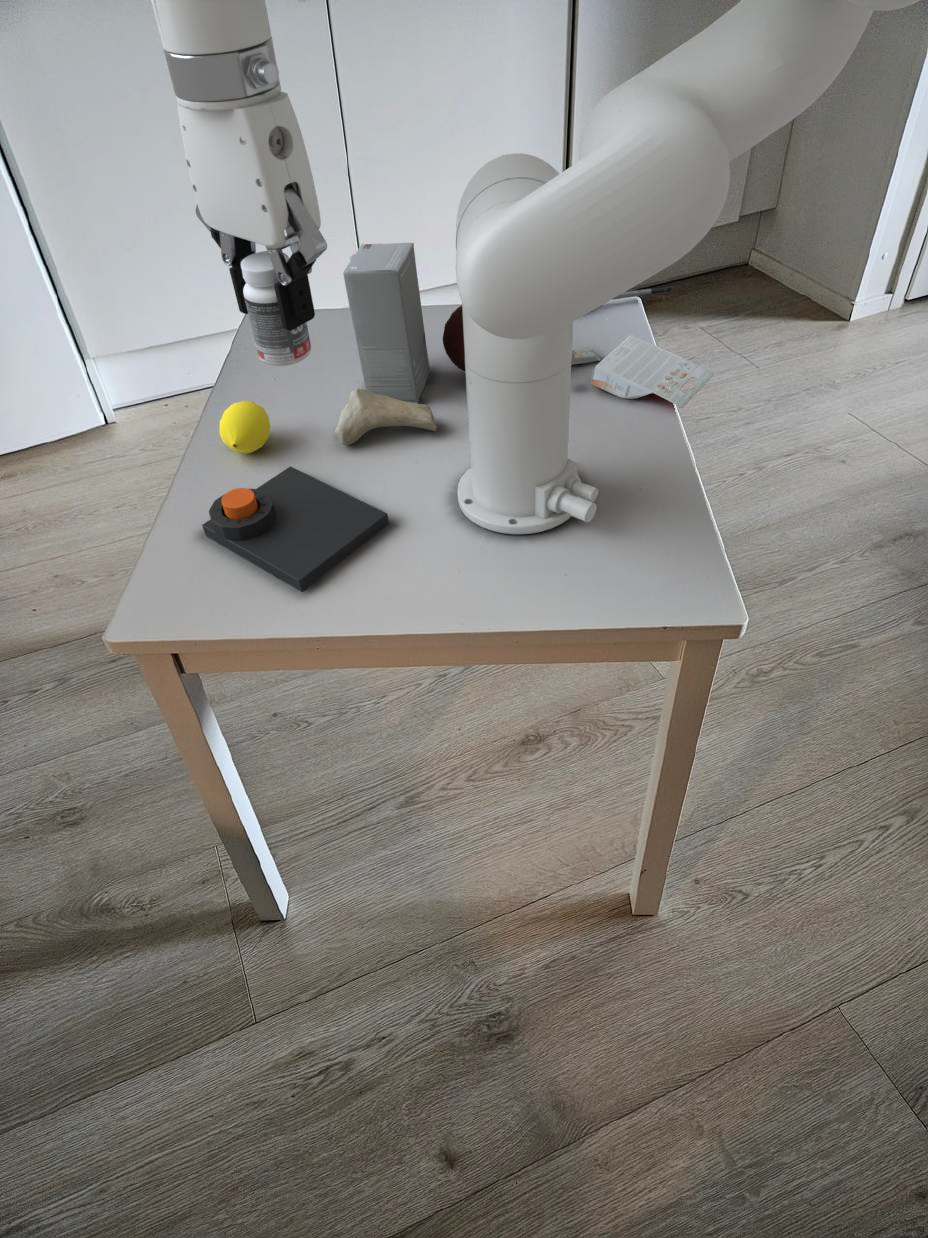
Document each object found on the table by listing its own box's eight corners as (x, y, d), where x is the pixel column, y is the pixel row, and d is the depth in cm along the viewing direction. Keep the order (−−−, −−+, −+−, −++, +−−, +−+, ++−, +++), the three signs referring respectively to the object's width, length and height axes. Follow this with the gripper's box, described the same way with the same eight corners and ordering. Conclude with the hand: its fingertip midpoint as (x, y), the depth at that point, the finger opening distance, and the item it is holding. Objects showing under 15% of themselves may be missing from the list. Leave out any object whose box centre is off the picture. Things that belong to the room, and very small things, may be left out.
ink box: (625, 349, 107) (707, 391, 104) (588, 383, 102) (674, 428, 99) (631, 329, 105) (716, 371, 102) (594, 362, 100) (682, 408, 97)
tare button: (264, 507, 85) (261, 495, 84) (239, 524, 83) (236, 512, 82) (243, 496, 87) (239, 483, 86) (218, 512, 85) (214, 500, 84)
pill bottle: (307, 366, 76) (288, 271, 70) (254, 368, 76) (230, 274, 70) (315, 339, 79) (298, 247, 73) (264, 341, 79) (242, 249, 73)
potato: (441, 360, 108) (435, 288, 102) (536, 349, 109) (536, 276, 103) (449, 396, 102) (444, 322, 96) (549, 384, 103) (551, 310, 96)
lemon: (238, 429, 100) (226, 387, 96) (283, 431, 99) (273, 389, 96) (216, 465, 95) (203, 422, 92) (263, 467, 95) (251, 425, 91)
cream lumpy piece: (338, 452, 96) (331, 414, 92) (333, 423, 100) (326, 385, 97) (438, 436, 97) (435, 398, 93) (429, 408, 101) (426, 370, 98)
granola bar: (596, 346, 107) (604, 359, 105) (594, 354, 108) (601, 367, 106) (543, 345, 106) (550, 359, 104) (541, 354, 106) (548, 368, 105)
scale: (389, 524, 86) (385, 500, 84) (301, 592, 80) (295, 568, 78) (292, 476, 93) (287, 453, 91) (204, 535, 87) (196, 512, 85)
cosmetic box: (418, 405, 102) (405, 272, 90) (359, 403, 103) (339, 270, 92) (432, 368, 108) (420, 239, 96) (376, 366, 109) (358, 238, 97)
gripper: (346, 73, 60) (379, 323, 73) (191, 47, 68) (246, 276, 81) (264, 102, 56) (314, 361, 69) (110, 71, 64) (181, 308, 77)
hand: (277, 313), depth 75 cm, fingers closed on pill bottle, 4 cm apart
